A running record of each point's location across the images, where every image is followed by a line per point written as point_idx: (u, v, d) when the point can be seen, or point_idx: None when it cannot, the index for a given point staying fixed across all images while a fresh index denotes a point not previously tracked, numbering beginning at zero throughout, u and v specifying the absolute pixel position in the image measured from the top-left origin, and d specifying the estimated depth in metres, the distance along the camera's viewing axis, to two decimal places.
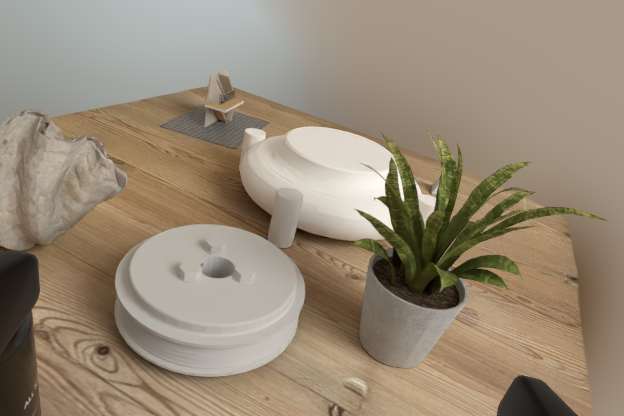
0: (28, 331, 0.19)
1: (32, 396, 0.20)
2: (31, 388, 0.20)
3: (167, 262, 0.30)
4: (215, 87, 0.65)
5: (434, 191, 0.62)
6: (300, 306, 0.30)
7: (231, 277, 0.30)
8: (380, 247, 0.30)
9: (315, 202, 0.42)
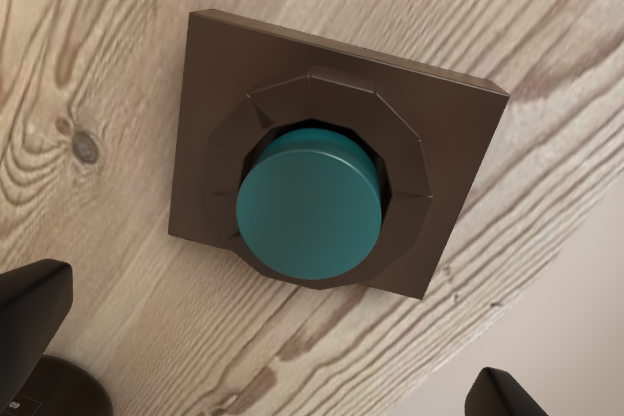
0: None
1: None
2: None
3: None
4: None
5: None
6: None
7: None
8: None
9: None
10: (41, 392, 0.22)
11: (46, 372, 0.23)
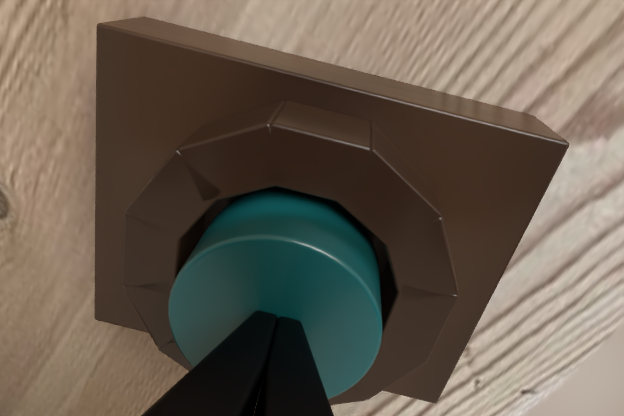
0: None
1: None
2: None
3: None
4: None
5: None
6: None
7: None
8: None
9: None
10: None
11: None
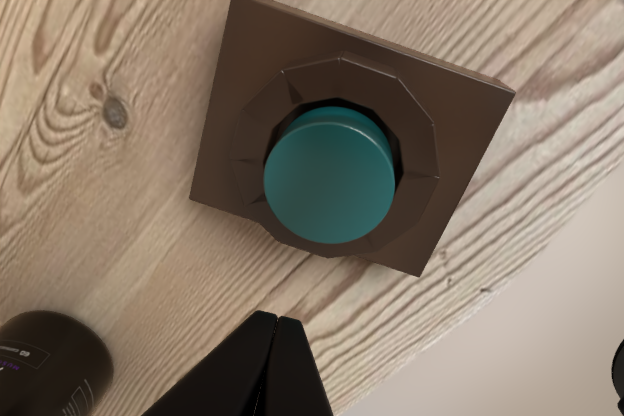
0: None
1: None
2: None
3: None
4: None
5: None
6: None
7: None
8: None
9: None
10: (50, 344, 0.23)
11: (55, 326, 0.24)
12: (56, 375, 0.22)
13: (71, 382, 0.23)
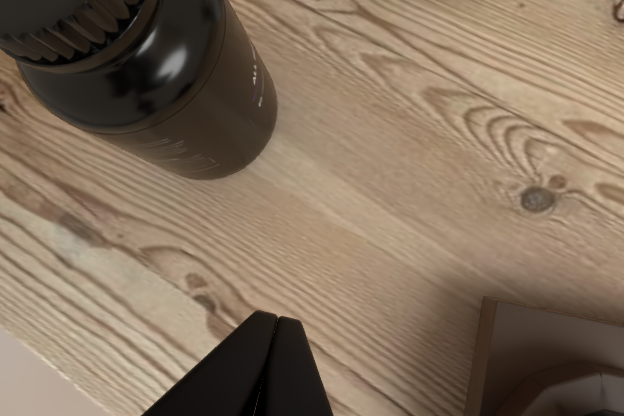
0: (224, 10, 0.14)
1: (256, 68, 0.17)
2: (251, 63, 0.17)
3: None
4: None
5: None
6: None
7: None
8: None
9: None
10: (261, 124, 0.19)
11: (270, 121, 0.20)
12: (236, 140, 0.18)
13: (223, 155, 0.18)
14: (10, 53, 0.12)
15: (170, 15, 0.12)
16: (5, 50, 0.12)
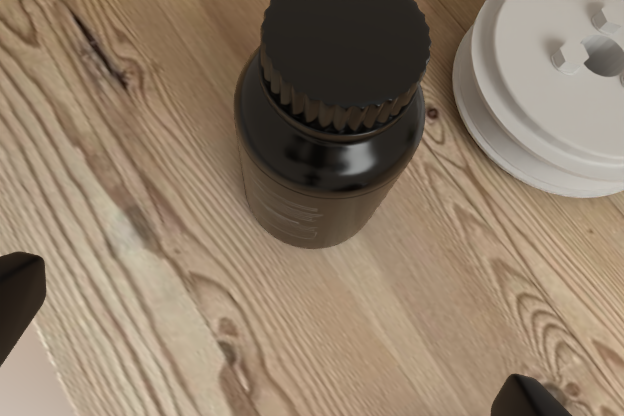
0: None
1: None
2: None
3: (540, 30, 0.23)
4: None
5: None
6: None
7: (618, 79, 0.22)
8: None
9: None
10: (363, 223, 0.21)
11: (365, 222, 0.22)
12: (345, 229, 0.20)
13: (326, 235, 0.20)
14: (271, 96, 0.13)
15: (395, 129, 0.14)
16: (267, 91, 0.13)
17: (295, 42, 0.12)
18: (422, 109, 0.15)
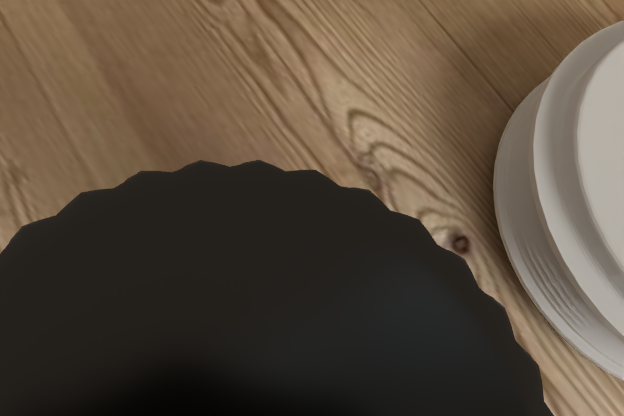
0: None
1: None
2: None
3: None
4: None
5: None
6: None
7: None
8: None
9: None
10: None
11: None
12: None
13: None
14: None
15: None
16: None
17: None
18: None
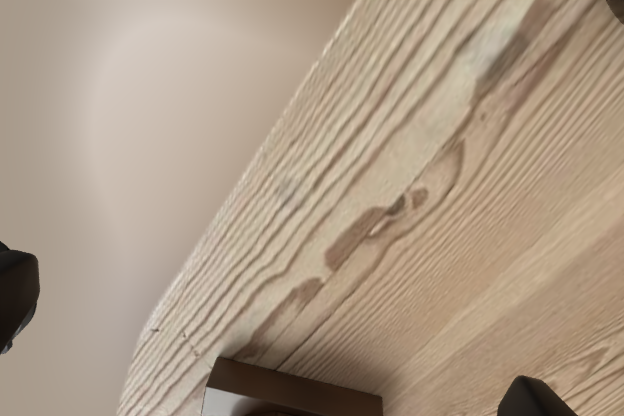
0: None
1: None
2: None
3: None
4: None
5: None
6: None
7: None
8: None
9: None
10: None
11: None
12: None
13: None
14: None
15: None
16: None
17: None
18: None
